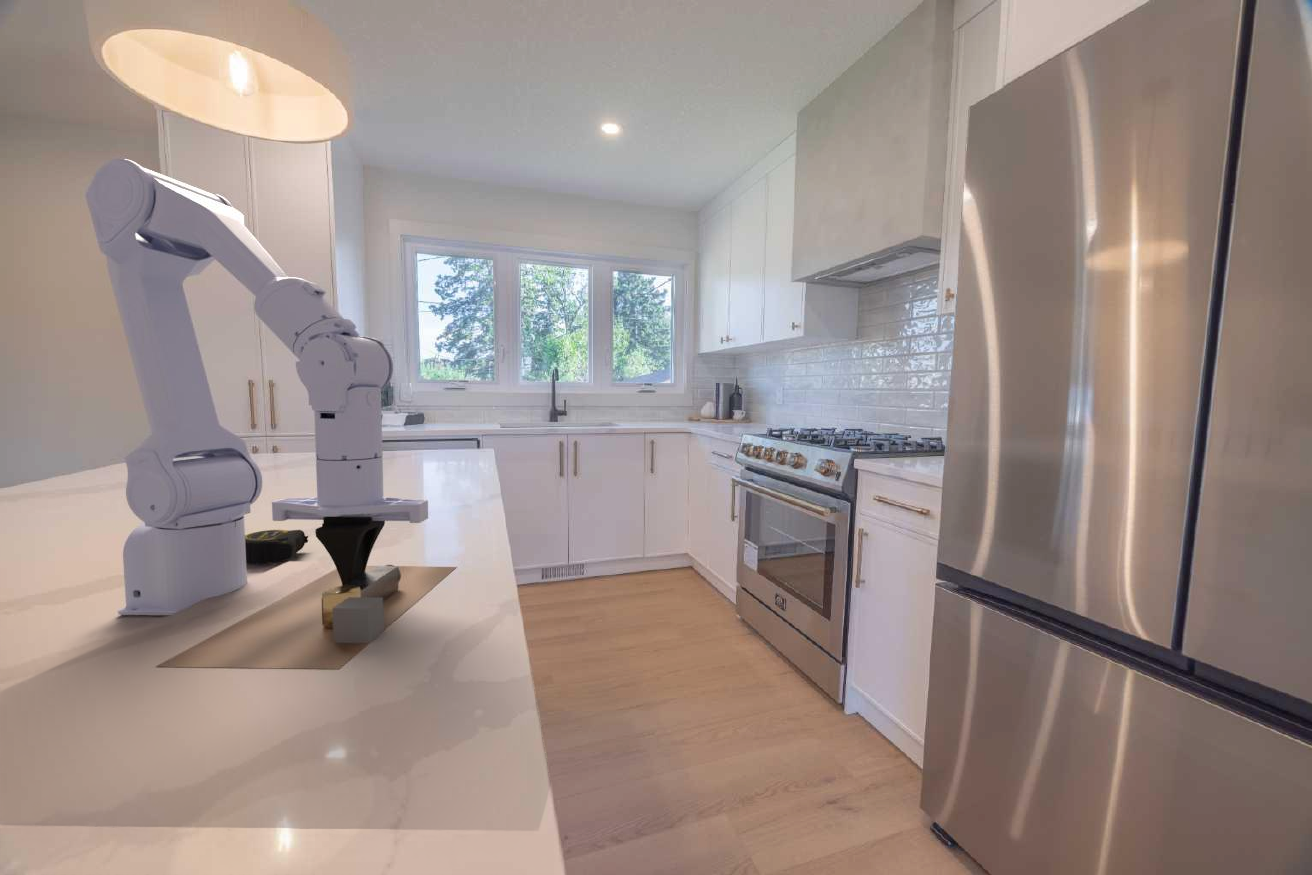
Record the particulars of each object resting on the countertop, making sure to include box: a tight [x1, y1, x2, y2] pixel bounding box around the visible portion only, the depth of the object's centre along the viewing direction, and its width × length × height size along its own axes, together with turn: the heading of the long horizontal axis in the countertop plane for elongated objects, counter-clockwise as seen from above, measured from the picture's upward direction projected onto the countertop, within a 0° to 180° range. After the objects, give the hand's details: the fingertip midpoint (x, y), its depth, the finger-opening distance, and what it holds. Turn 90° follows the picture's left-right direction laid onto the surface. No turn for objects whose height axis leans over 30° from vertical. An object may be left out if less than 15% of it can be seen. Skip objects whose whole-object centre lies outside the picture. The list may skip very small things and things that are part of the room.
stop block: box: [332, 597, 385, 644], centre depth 45 cm, size 3×2×3 cm
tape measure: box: [245, 529, 309, 565], centre depth 70 cm, size 7×7×4 cm
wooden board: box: [155, 565, 458, 670], centre depth 52 cm, size 14×24×2 cm, turn 0°
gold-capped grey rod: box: [322, 564, 401, 628], centre depth 51 cm, size 10×3×3 cm, turn 0°
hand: (353, 590), depth 53 cm, fingers closed
